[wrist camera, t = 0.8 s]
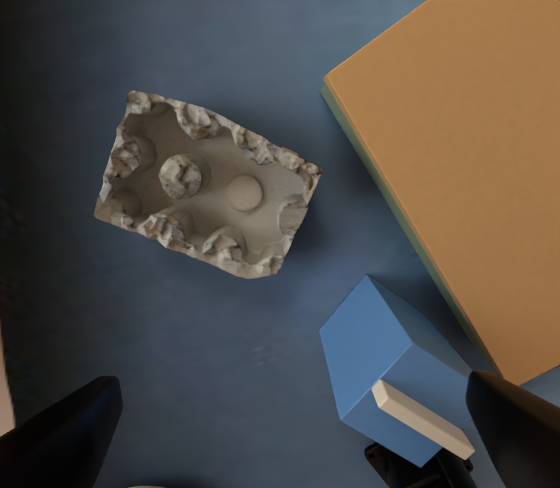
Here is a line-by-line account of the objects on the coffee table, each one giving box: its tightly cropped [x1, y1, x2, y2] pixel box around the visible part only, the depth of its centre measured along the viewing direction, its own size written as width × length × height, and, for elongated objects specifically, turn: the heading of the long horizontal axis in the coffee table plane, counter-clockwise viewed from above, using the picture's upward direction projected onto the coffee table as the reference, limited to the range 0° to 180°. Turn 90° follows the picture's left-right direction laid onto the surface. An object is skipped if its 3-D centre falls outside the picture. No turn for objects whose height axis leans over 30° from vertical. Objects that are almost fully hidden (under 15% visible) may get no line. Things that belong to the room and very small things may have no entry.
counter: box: [320, 0, 560, 386], centre depth 19 cm, size 20×10×4 cm, turn 35°
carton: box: [319, 274, 475, 467], centre depth 19 cm, size 5×5×9 cm
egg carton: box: [94, 91, 322, 279], centre depth 19 cm, size 11×8×4 cm
